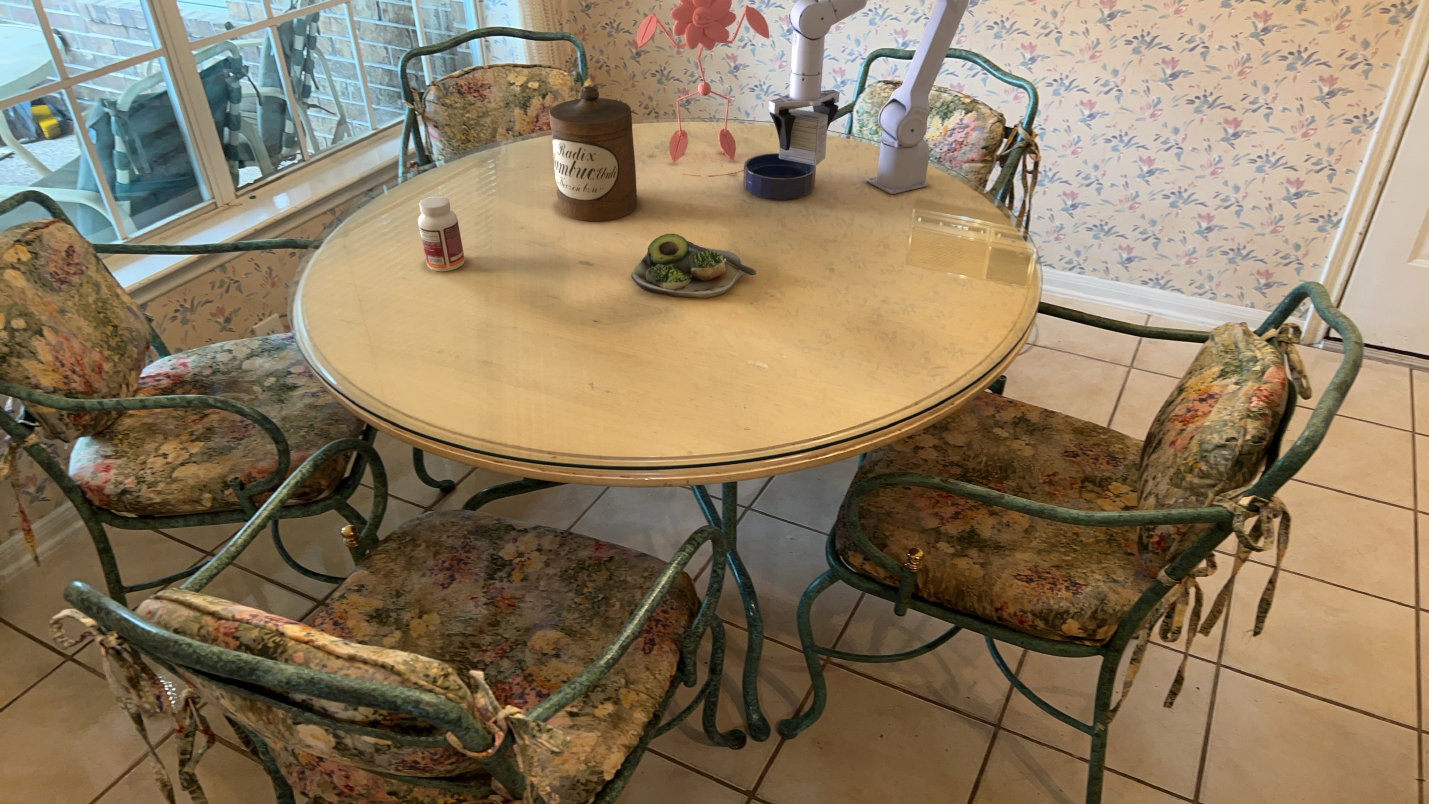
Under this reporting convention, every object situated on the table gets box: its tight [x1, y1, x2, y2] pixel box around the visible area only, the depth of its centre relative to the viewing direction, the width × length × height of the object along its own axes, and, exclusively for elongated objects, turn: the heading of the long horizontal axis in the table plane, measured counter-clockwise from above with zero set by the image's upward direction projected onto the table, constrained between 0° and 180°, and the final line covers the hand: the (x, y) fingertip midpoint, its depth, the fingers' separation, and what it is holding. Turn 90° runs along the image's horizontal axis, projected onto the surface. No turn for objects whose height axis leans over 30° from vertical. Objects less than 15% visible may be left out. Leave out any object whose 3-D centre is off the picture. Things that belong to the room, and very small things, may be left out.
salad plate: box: [630, 233, 758, 299], centre depth 146 cm, size 19×18×5 cm
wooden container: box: [548, 86, 638, 222], centre depth 164 cm, size 15×15×22 cm
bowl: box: [742, 152, 817, 201], centre depth 177 cm, size 14×14×4 cm
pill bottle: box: [417, 195, 465, 272], centre depth 147 cm, size 6×6×11 cm
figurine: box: [636, 0, 770, 178], centre depth 178 cm, size 15×26×35 cm, turn 94°
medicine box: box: [778, 108, 828, 166], centre depth 169 cm, size 8×4×9 cm, turn 61°
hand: (801, 145), depth 170 cm, fingers closed on medicine box, 7 cm apart
